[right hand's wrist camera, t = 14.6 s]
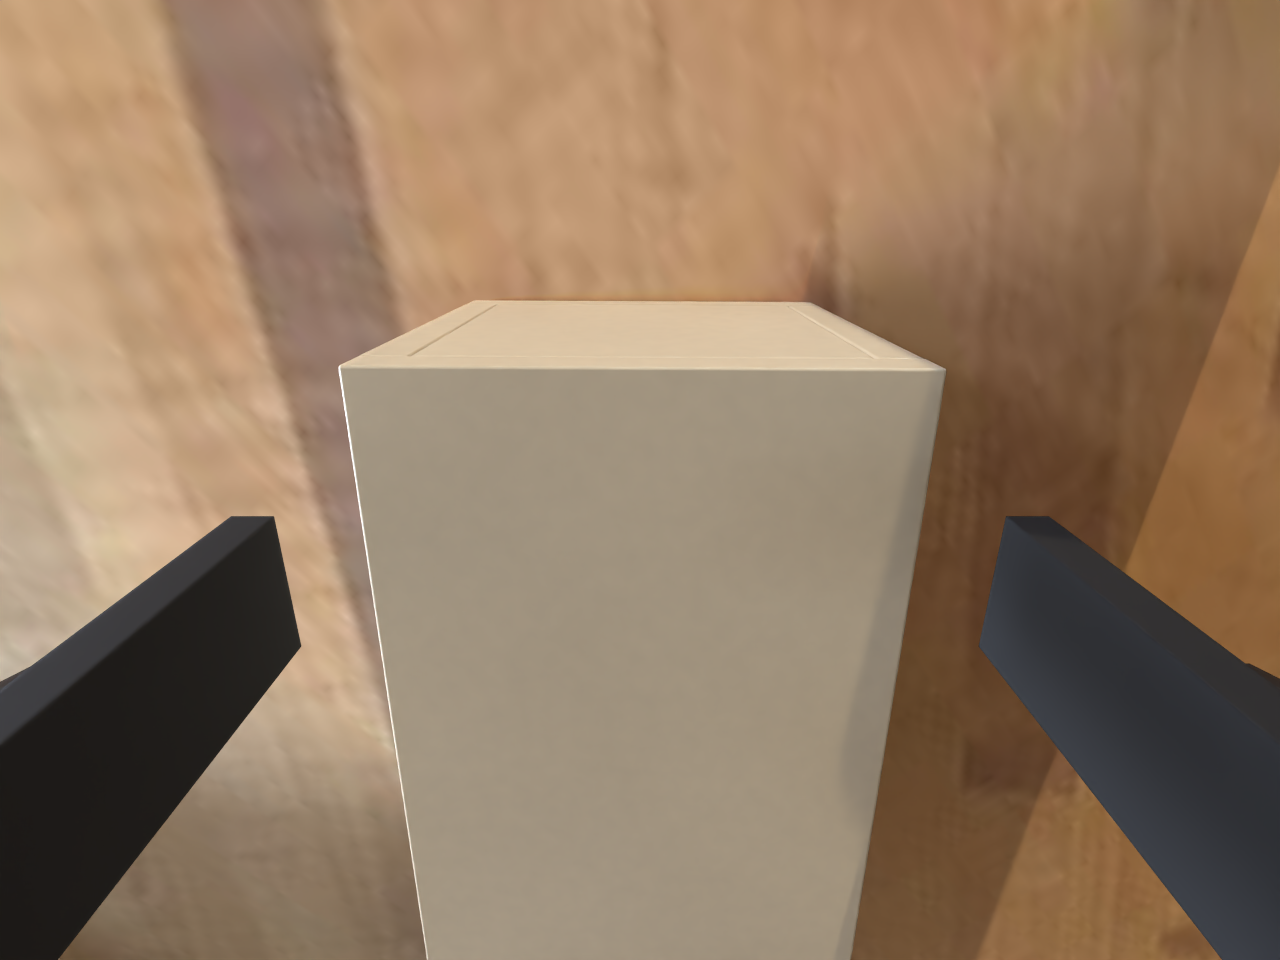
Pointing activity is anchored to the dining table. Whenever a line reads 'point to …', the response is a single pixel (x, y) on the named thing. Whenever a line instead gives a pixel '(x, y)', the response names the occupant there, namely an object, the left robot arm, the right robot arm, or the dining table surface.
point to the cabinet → (640, 617)
